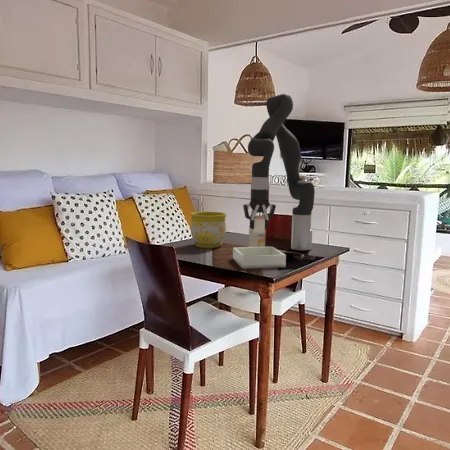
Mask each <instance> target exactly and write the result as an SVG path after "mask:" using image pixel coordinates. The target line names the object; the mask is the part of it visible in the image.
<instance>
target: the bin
mask: <svg viewBox="0 0 450 450" xmlns="http://www.w3.org/2000/svg"><path fill="white" fill-rule="evenodd" d="M232 259H233V260H234V261H235V263H236V264H237V265H238V266H239V267H240V268H241V269H243V270H244V269H246V270H247V269H268V268H269V269H271V268H274V269H275V268H286V265H287V261H286V260H287V254H285V253H284V252H282V251H280V250H279V249H277V248H276V247H274V246H265V247H249V246H245V247H244V246H243V247H242V246H241V247H232Z"/></svg>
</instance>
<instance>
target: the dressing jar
mask: <svg viewBox="0 0 450 450" xmlns="http://www.w3.org/2000/svg"><path fill="white" fill-rule="evenodd" d="M253 220H254V229H253V233H258V234H262V233H265V234H266V230H265V216H263V214H262V215H258V214H256V215H255V217H254V219H253Z"/></svg>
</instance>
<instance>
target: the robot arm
mask: <svg viewBox="0 0 450 450" xmlns="http://www.w3.org/2000/svg"><path fill="white" fill-rule="evenodd" d="M265 103H266V110H267V113H268V118H267V119H266V120H265V121H264V122H263V124H262V126H261V127H260V130H259V131H258V132H257V133H255V135H253V137H252V138H251V139H250V141H248V144H247V151H248V153H249V155H250V156H252V157H262V159H261V160H260V161H258V162H253V163H252V165H251V179H250V180H251V181H250V201H249V203H246V204H243V205H242V208H243V213H244V217H245V219H247V220H249V226H250V228H251V229H254V220H253V219H254V217H255V215H257V214H258V213H260V214H261V213H262V216H265V229H266V230H267V229H268V228H269V221H270V219H273V218H274V214H275V211H276V208H277V205H276V204H273V203H270V200H269V199H270V177H269V176H270V164H271V161H272V159H273V155H274V152H275V143H274V140H275V138H276V140H277V144H278V148H279V152H280V155H281V158H282V162H283V165H284V170H285V174H286V178H287V179H286V180H287V185H288V191H289V194H290V197H291V198H292V199H294V200H297V201H299V202H298V203H299V204H298V205H297V206H295V207H293V208H292V211H291V212H292V215H291V220H292V221H291V242H290V248H291V250H296V251H308V250H312V249H313V248H312V247H313V246H312V245H313V230H312V229H311V228H312V213H313V209H314V205H315V204H314V203H315V193H316V192H315V186H314V184H313V183H312V182H310V181H303V180H302V179H301V176H300V171H299V168H300V165H301V164H300V163H301V160H302V159H301V158H302V152H301V147H300V143H299V141H298V139H297V138H296V136H295V135H294V134H293V133H292V132H291V131H290V130H289V129H287V127H286V126H285V125H284V122H285V121H287V118H288V117H289V116H290V115H291V113H292V111H293V109H294V101H293V98H292V97H291V95H290V94H289V93H282V94H277V95H273V96H271V97H268V98H267V99H266V102H265ZM250 208H251V211H250V213H249V209H250ZM268 208H269V212H268V211H267V210H268Z"/></svg>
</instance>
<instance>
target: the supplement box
mask: <svg viewBox="0 0 450 450" xmlns="http://www.w3.org/2000/svg"><path fill="white" fill-rule="evenodd" d="M266 230H267V229H265V231H266ZM248 247H266V232H265V233H262V234H258V233H253V229H251V228H250V225H249V226H248Z"/></svg>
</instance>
